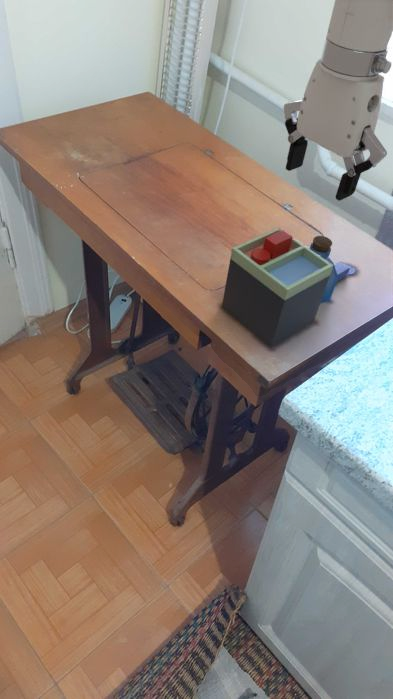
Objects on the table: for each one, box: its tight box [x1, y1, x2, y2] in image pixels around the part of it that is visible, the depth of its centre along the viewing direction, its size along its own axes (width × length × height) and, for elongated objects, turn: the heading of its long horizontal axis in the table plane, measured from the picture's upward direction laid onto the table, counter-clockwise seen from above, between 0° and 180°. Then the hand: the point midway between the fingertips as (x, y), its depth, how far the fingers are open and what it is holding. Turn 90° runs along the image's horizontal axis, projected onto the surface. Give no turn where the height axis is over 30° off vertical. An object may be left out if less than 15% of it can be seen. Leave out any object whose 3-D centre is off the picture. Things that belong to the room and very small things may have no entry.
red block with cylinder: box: [250, 229, 294, 265], centre depth 84 cm, size 7×3×3 cm, turn 130°
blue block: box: [334, 261, 356, 282], centre depth 101 cm, size 7×3×3 cm, turn 130°
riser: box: [221, 258, 330, 349], centre depth 88 cm, size 10×12×11 cm
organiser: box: [230, 227, 333, 300], centre depth 83 cm, size 10×12×2 cm
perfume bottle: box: [308, 235, 338, 304], centre depth 92 cm, size 6×6×12 cm
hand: (317, 182), depth 80 cm, fingers open, 9 cm apart
